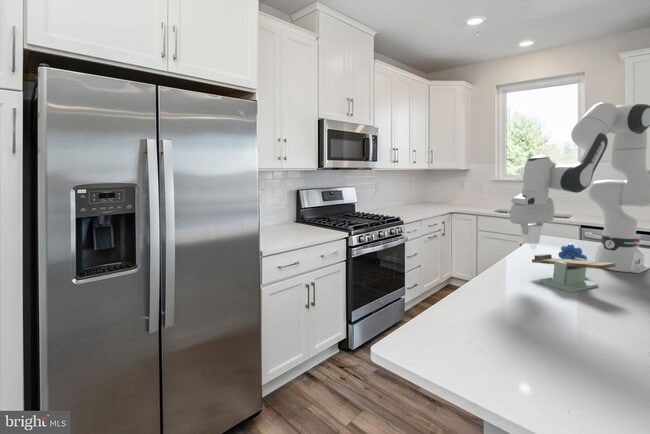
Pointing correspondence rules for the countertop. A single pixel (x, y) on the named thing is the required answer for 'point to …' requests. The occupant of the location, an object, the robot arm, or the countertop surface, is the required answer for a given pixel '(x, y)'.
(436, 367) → the countertop surface
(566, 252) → the grapes
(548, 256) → the seesaw beam
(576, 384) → the countertop surface
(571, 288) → the pivot stand
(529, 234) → the white cup
